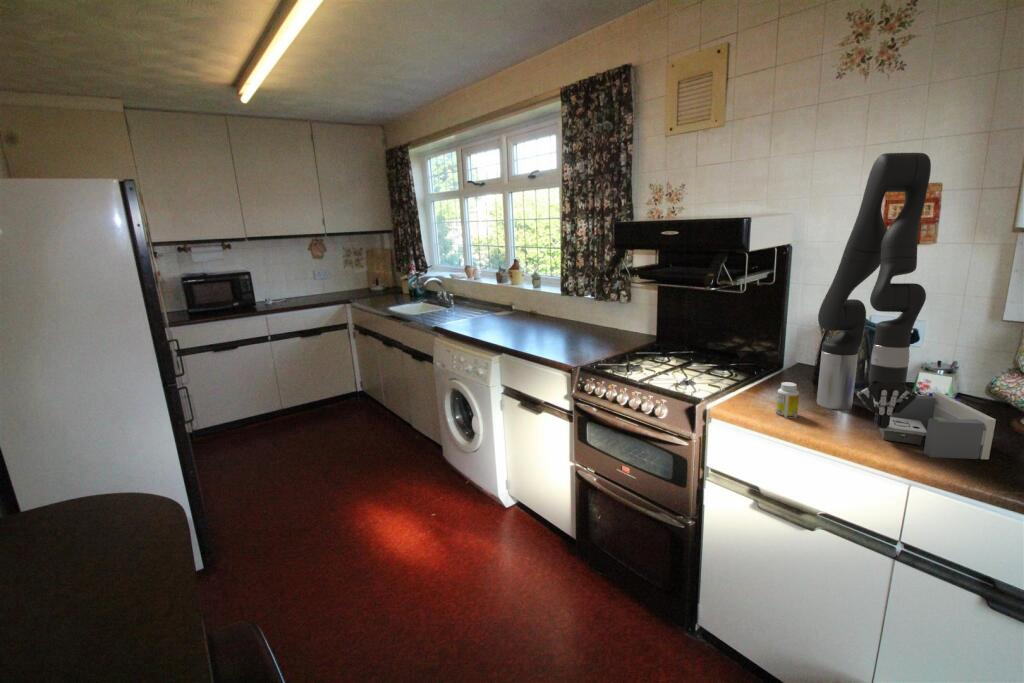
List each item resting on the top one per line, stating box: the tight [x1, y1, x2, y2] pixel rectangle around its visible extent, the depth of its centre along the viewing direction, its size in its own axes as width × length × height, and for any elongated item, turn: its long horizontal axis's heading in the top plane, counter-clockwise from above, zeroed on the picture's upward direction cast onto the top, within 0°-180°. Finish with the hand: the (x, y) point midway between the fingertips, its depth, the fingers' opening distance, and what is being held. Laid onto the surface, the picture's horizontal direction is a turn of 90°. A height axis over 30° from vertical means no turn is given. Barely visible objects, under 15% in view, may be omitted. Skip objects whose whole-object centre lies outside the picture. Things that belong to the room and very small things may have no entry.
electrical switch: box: [878, 417, 927, 446], centre depth 125 cm, size 9×5×9 cm
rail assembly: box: [890, 391, 997, 460], centre depth 122 cm, size 20×12×10 cm, turn 169°
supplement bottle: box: [775, 381, 800, 419], centre depth 142 cm, size 6×6×10 cm
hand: (881, 427), depth 123 cm, fingers closed
